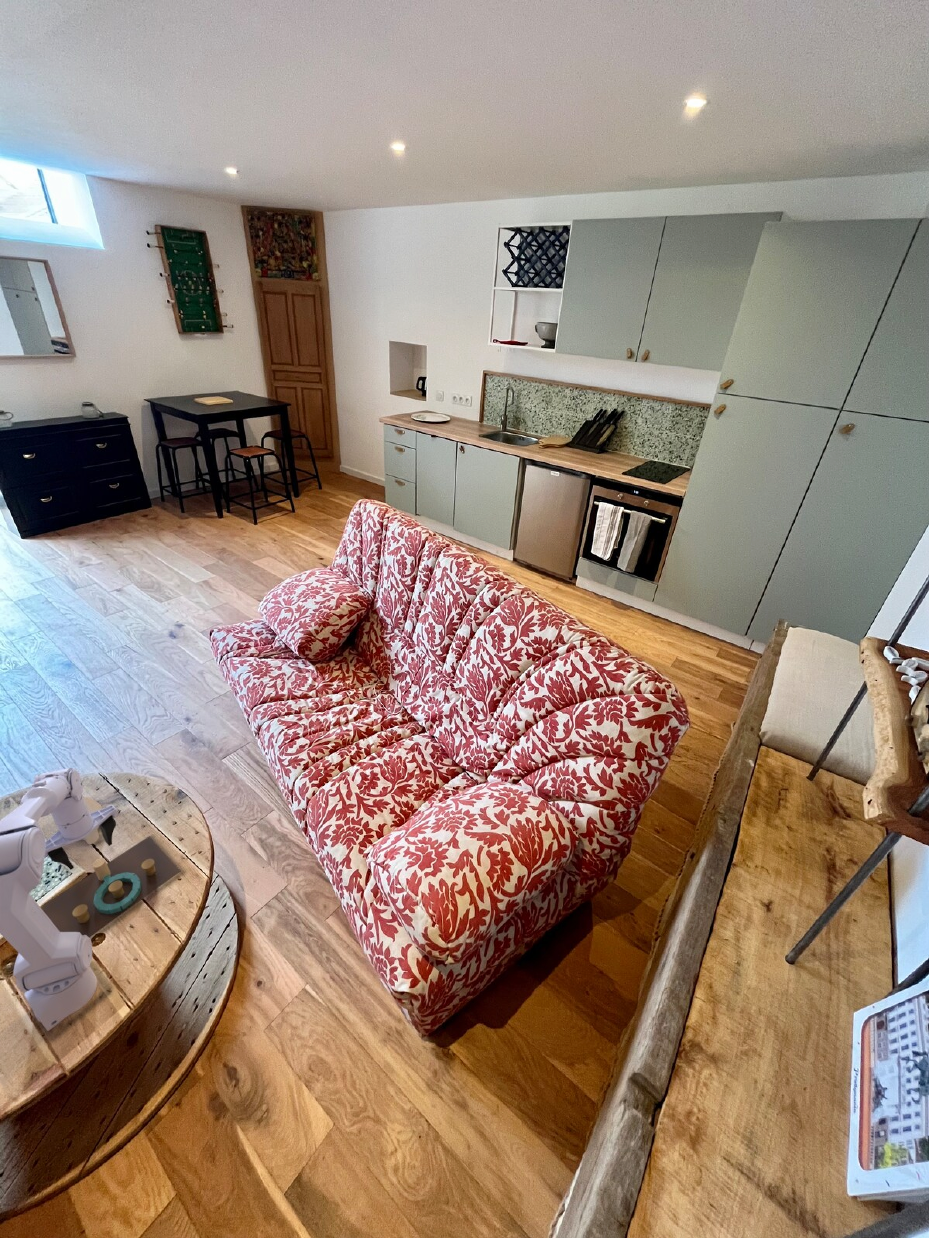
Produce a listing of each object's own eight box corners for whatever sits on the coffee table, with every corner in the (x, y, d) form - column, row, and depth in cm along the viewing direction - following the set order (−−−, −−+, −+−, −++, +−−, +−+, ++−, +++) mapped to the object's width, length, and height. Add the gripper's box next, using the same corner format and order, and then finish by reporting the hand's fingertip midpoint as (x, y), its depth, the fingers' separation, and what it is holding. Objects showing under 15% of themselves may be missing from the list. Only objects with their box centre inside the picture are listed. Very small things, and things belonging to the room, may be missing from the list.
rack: (71, 953, 104) (65, 942, 102) (42, 908, 111) (36, 897, 109) (181, 873, 121) (178, 862, 119) (150, 838, 128) (146, 827, 126)
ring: (106, 922, 109) (100, 908, 107) (81, 886, 115) (74, 873, 113) (148, 891, 116) (143, 878, 113) (122, 859, 122) (117, 846, 119)
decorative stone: (81, 852, 123) (71, 831, 119) (60, 819, 131) (49, 797, 126) (118, 831, 129) (110, 809, 125) (96, 800, 136) (87, 779, 132)
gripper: (100, 784, 114) (116, 823, 121) (22, 826, 104) (44, 866, 110) (115, 800, 111) (130, 840, 117) (36, 845, 100) (57, 886, 107)
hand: (90, 854), depth 114 cm, fingers open, 7 cm apart
